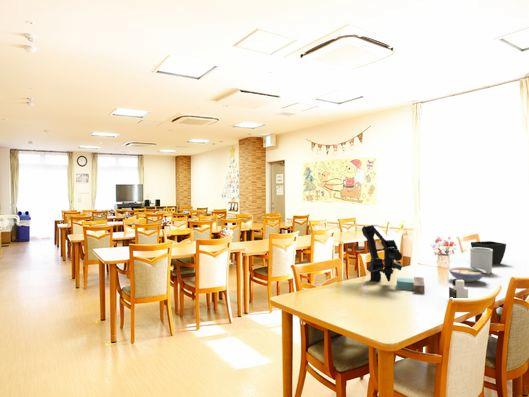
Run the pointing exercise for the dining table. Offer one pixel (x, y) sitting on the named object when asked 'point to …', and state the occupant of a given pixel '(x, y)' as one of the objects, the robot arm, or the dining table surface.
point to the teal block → (405, 283)
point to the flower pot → (495, 246)
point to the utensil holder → (481, 258)
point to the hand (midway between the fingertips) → (388, 281)
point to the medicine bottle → (458, 289)
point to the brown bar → (419, 285)
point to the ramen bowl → (467, 273)
